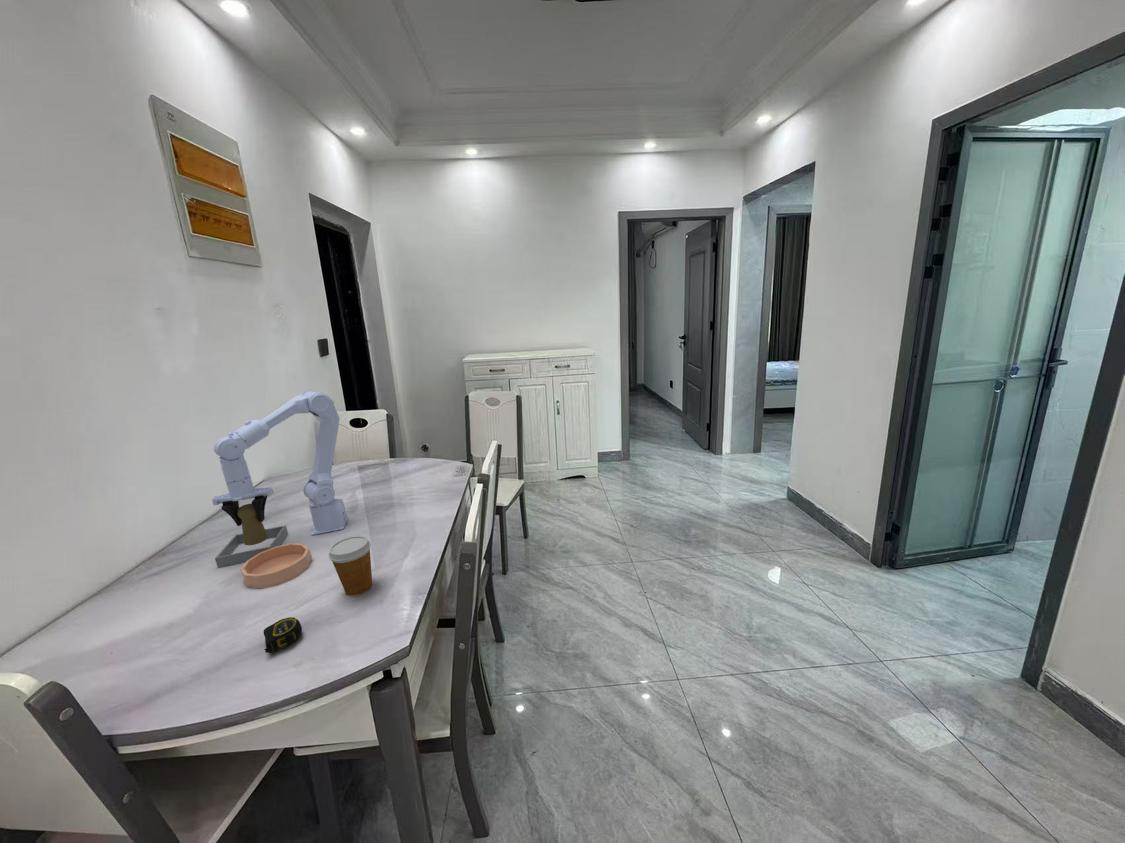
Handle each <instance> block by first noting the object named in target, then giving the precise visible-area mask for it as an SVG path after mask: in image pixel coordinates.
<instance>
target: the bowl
mask: <svg viewBox="0 0 1125 843" xmlns="http://www.w3.org/2000/svg"><path fill="white" fill-rule="evenodd" d="M312 560H313V558H312V555H311V550H310V548H309V547H308V546H307V545H306V544H305V543H296V542H291V543H286V544H281V545H280V546H276V547H273V548H271V549H268V550H266V551H263V552H260V553H259V554H257V555H255V556H254V557H252V558H251V559H249V560H248V561H246V562H244V564H243V565H242V566H241V568H240V573H241V576H242V579H243V581H244V583H245V585H246V586H247V588H253V589H255V588H256V589H264V588H268V587H272V586H278V585H280V584H284V583H285V582H287V581H289V580H292V579H294V578H296V577H298V576H299V575H300V574H302V573H303V572H304V571H306V570H307V569H308V568H309V567H310V565H311V563H312Z"/></svg>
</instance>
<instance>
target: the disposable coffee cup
mask: <svg viewBox="0 0 1125 843" xmlns="http://www.w3.org/2000/svg"><path fill="white" fill-rule="evenodd" d="M371 547H372V543H371V541H370V540H369V539H368V538H367V537H366V536H364V535H353V536H348V537H345V538H342V539H340V540H339V541H336V542H335V543H333V544H332V545H331V546H330V548H329V552H328V556H327V557H328V559H329V560H330V561H331V562H332V564H333V567H334V569H335V571H336V573H337V576H338V578H339V581H340V584H341V586H342V588H343V591H344V592H345V594H346V595H347V596H351V597H353V596H358V595H359V596H360V595H361V594H364V593H365V592H367V591H369V590H370V589H371V587H372V586H373V576H372V573H373V572H372V561H371Z"/></svg>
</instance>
